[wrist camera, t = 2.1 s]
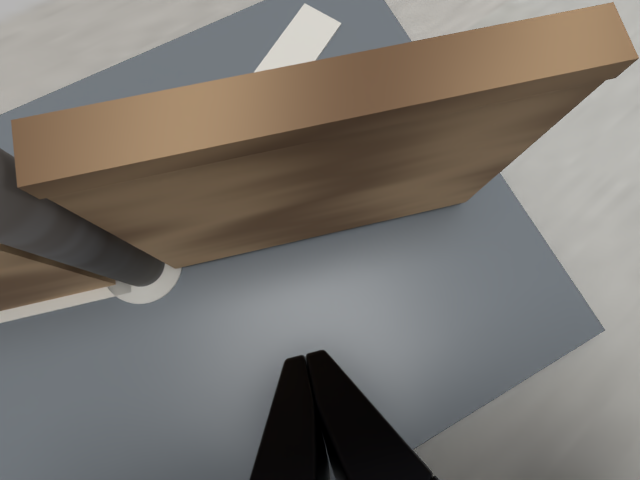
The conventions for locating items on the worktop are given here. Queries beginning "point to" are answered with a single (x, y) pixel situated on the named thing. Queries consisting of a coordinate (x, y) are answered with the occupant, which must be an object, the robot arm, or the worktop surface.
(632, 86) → the worktop surface
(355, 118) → the fence panel
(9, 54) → the worktop surface
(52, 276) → the fence fixed
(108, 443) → the mat
